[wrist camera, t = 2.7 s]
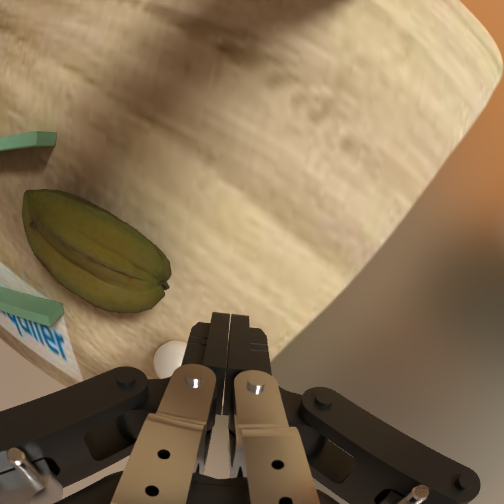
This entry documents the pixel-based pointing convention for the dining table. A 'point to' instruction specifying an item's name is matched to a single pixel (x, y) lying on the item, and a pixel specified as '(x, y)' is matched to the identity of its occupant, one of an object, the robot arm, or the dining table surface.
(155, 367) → the golf ball
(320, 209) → the dining table surface
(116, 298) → the fruit
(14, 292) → the mint frame with pennant
